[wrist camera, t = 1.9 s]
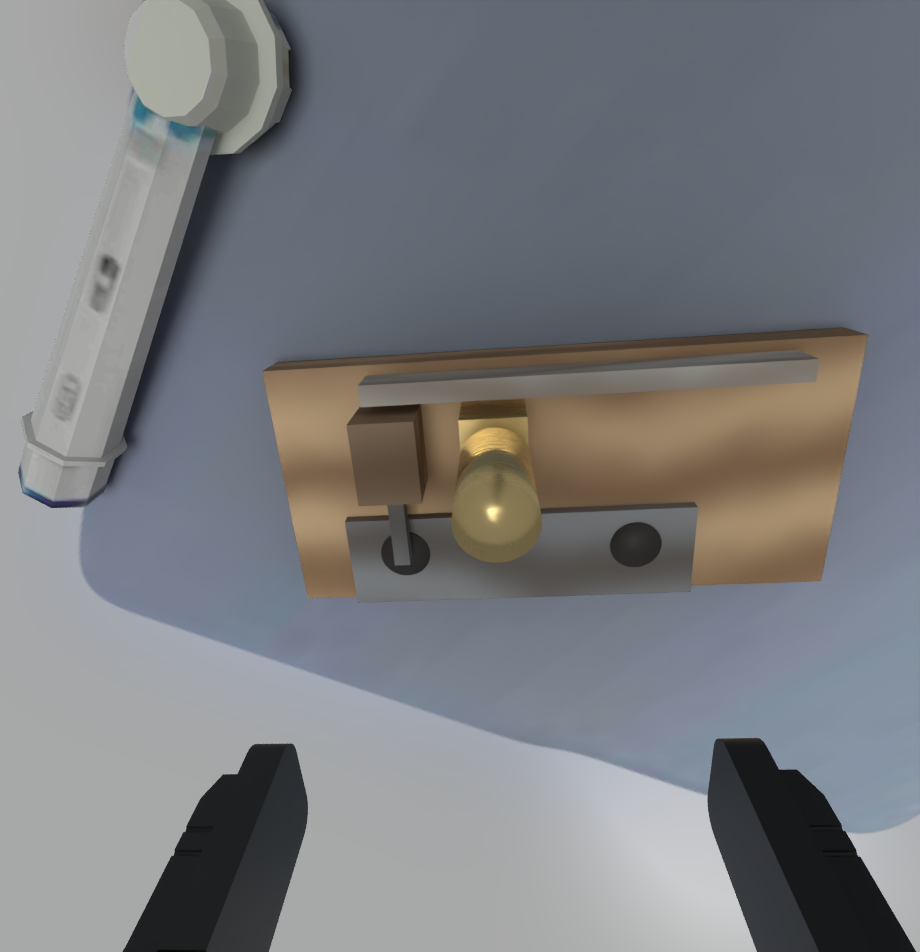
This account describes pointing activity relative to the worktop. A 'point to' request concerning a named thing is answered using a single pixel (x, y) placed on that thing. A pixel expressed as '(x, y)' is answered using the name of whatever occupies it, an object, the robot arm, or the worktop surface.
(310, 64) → the worktop surface
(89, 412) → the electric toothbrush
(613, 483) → the board
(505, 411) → the gold l-shaped piece
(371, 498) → the brown block with stem
